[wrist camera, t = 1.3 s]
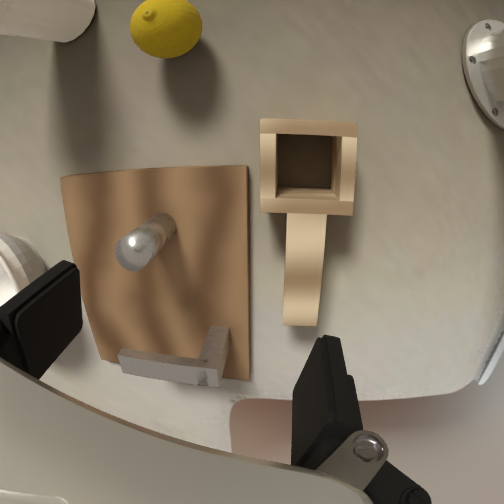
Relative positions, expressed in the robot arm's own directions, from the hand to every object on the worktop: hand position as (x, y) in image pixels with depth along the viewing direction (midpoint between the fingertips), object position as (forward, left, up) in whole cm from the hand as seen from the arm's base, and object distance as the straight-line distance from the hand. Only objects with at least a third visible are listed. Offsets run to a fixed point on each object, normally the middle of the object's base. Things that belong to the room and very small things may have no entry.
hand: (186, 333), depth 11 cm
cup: (+19, -22, -19) cm, 35 cm away
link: (-5, +1, -19) cm, 20 cm away
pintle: (+8, +2, -18) cm, 20 cm away
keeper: (+7, +14, -18) cm, 24 cm away
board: (+10, +8, -19) cm, 23 cm away
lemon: (+6, -16, -19) cm, 26 cm away
